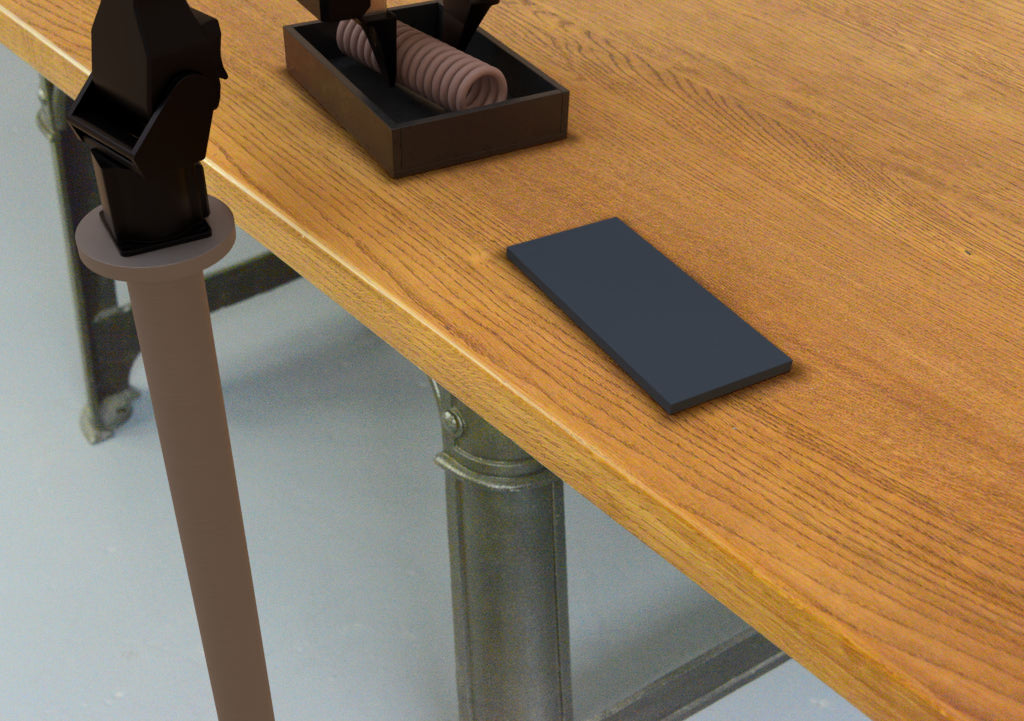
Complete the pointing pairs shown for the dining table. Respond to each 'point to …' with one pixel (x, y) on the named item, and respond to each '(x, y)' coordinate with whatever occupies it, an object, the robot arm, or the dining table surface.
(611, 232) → the pad
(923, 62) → the dining table surface
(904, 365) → the dining table surface
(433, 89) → the coil
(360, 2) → the robot arm
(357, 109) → the dark brown tray
